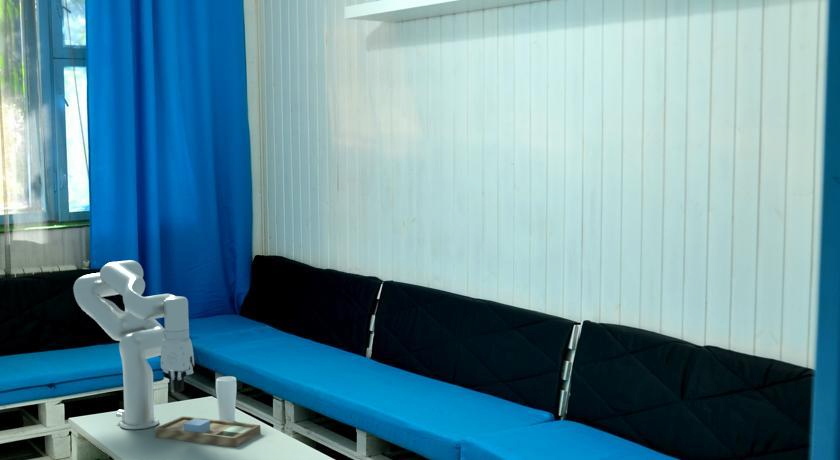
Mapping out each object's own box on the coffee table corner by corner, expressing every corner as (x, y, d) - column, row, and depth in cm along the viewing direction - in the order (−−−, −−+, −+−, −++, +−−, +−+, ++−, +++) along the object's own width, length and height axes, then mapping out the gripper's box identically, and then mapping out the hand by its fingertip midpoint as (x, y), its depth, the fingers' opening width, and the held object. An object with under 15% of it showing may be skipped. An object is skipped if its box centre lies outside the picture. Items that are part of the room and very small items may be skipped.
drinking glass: (232, 425, 313) (231, 381, 312) (213, 424, 314) (212, 380, 313) (240, 419, 320) (239, 376, 318) (221, 418, 321) (220, 375, 320)
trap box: (155, 436, 300) (155, 428, 300) (182, 424, 314) (182, 416, 314) (235, 447, 290) (235, 438, 290) (260, 433, 304) (260, 425, 303)
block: (183, 432, 298) (183, 423, 298) (194, 427, 303) (194, 418, 303) (199, 434, 296) (199, 425, 295) (210, 429, 301) (210, 420, 301)
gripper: (150, 336, 299) (152, 392, 300) (189, 338, 293) (191, 395, 295) (164, 331, 306) (166, 386, 307) (203, 334, 300) (205, 390, 302)
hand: (178, 391), depth 301 cm, fingers closed
